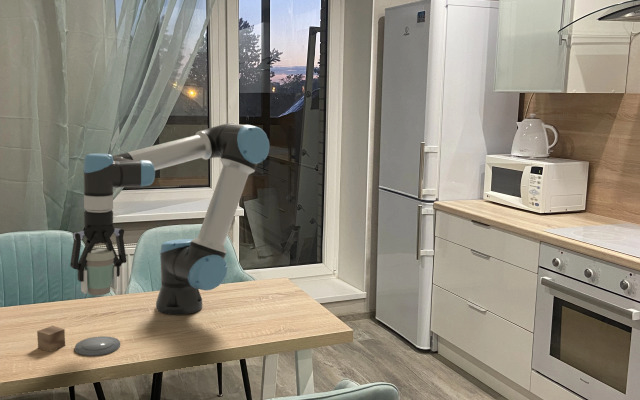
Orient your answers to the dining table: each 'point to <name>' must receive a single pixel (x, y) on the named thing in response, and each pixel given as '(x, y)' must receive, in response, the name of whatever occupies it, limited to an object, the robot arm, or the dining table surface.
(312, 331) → the dining table surface
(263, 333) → the dining table surface
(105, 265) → the coffee cup
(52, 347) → the walnut block
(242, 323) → the dining table surface
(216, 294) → the dining table surface
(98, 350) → the saucer
